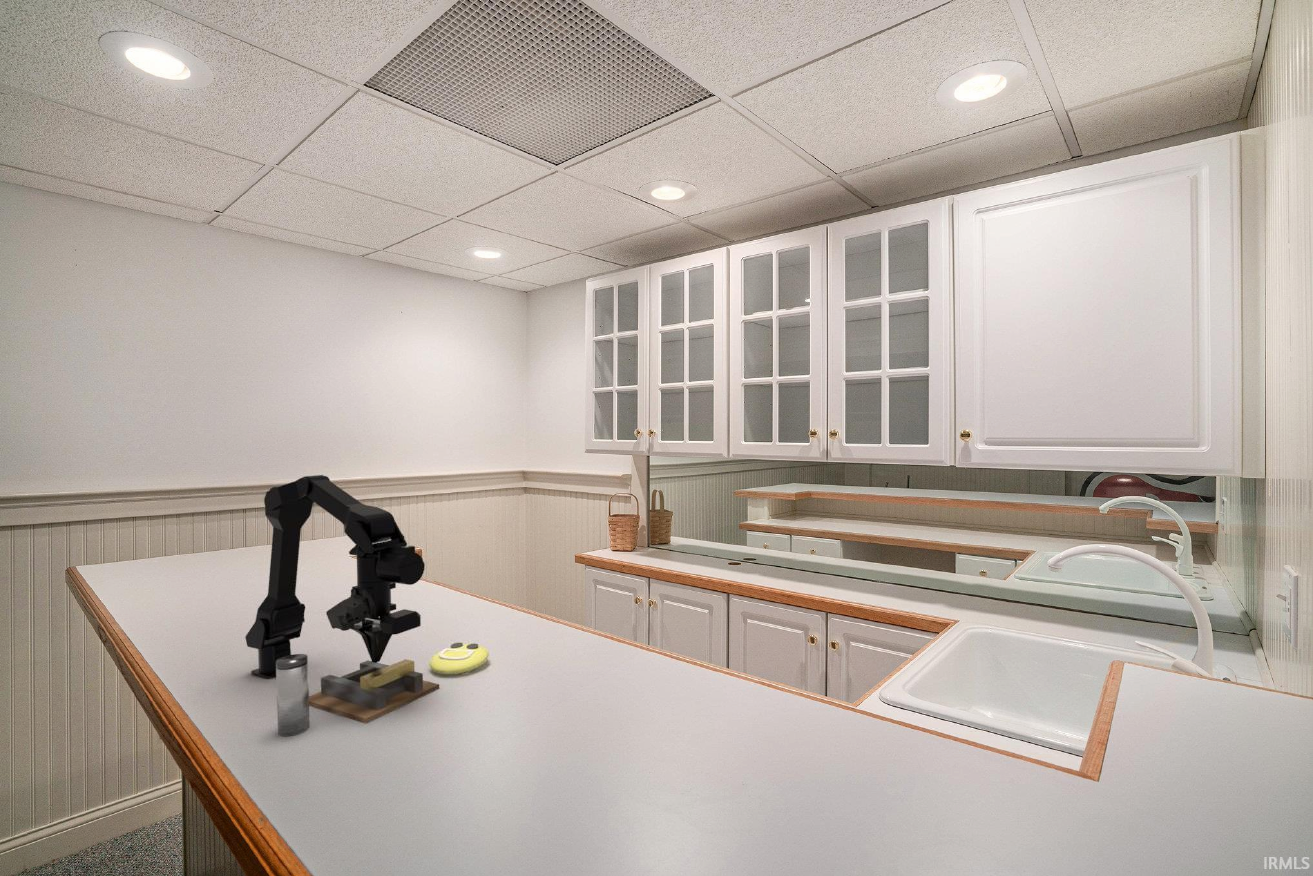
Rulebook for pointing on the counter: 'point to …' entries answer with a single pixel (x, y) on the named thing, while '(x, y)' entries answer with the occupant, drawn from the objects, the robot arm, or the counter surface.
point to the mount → (368, 693)
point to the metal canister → (292, 694)
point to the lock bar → (386, 674)
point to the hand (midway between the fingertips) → (375, 662)
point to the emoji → (459, 659)
